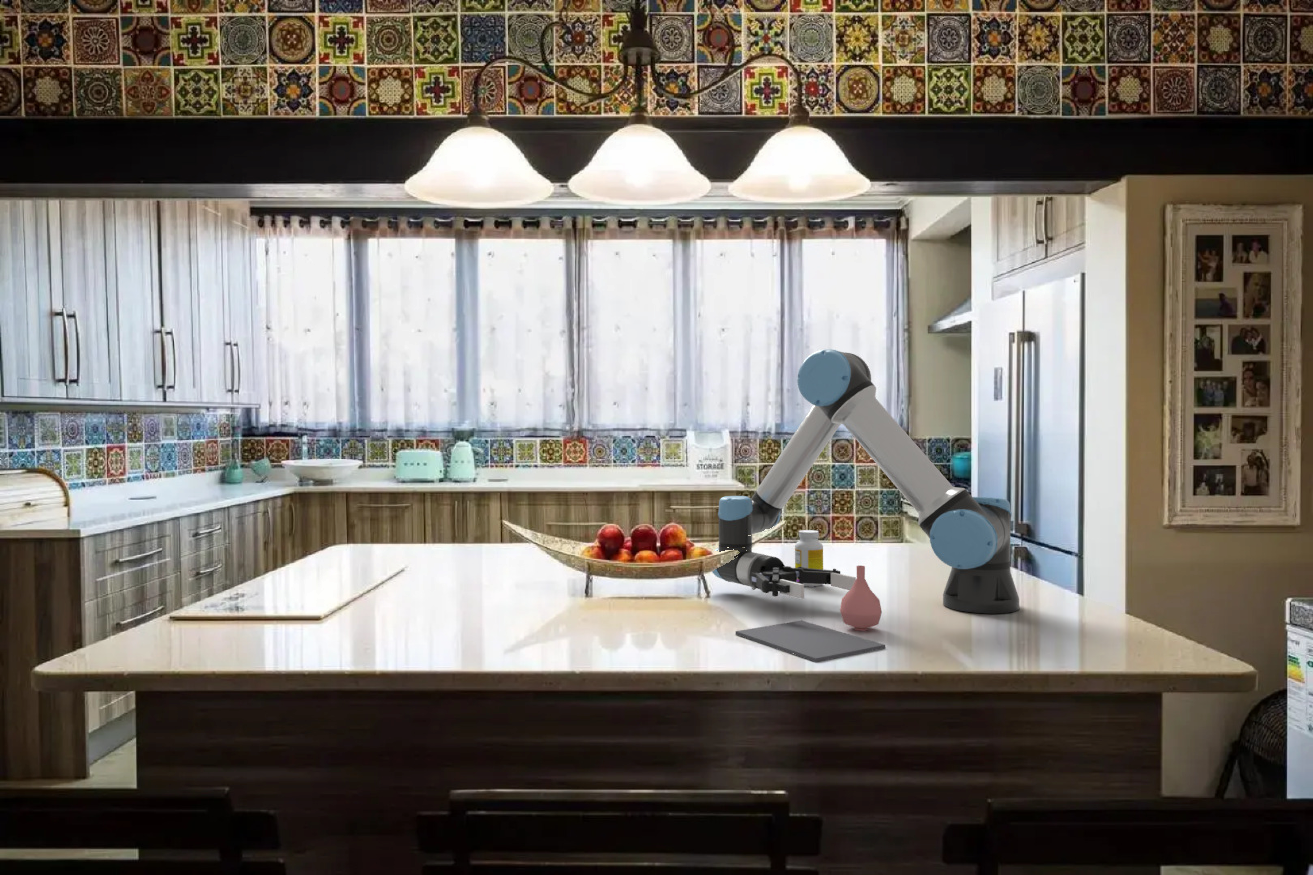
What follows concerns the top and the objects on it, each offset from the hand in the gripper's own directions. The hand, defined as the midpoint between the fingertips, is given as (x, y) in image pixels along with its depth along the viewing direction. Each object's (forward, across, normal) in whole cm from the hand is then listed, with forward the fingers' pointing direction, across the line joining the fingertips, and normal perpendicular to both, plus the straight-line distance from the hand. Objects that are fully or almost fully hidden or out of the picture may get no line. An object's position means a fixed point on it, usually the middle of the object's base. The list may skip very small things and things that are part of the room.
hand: (829, 587), depth 176 cm
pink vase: (+8, 0, -7) cm, 11 cm away
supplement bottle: (-30, -22, -7) cm, 38 cm away
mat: (+10, +14, -6) cm, 18 cm away
